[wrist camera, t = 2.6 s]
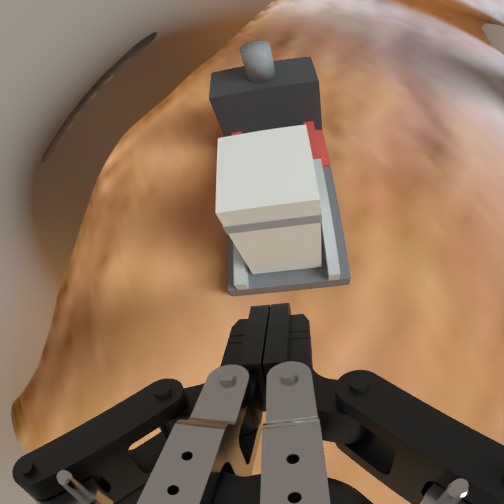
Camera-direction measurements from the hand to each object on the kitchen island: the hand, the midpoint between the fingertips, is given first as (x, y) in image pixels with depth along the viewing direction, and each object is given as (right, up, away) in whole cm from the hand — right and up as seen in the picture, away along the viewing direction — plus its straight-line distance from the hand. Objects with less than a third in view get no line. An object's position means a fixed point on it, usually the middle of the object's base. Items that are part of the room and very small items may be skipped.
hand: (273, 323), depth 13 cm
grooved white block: (+2, +4, +12) cm, 12 cm away
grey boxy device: (+2, +8, +15) cm, 18 cm away
